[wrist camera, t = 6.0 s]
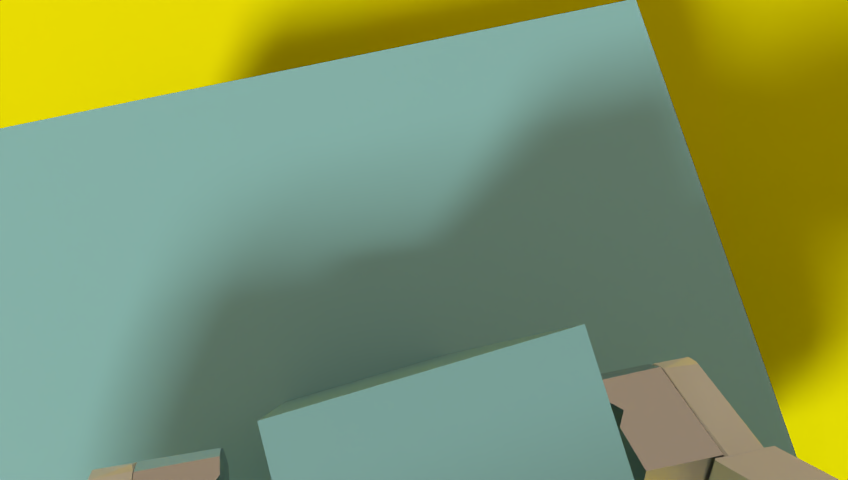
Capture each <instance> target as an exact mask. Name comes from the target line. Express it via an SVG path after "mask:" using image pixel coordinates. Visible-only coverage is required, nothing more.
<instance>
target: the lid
mask: <svg viewBox="0 0 848 480" xmlns="http://www.w3.org/2000/svg"><path fill="white" fill-rule="evenodd" d="M685 357H690V358H691V359H693V360H695V361H696V362H697V363H698V364H699V365H700V367H701V368H702V369H703V371H704V372H705V373H706V374H707V376H708V377H709V378H710V379H711V381H712V382H713V383H714V385H715V386H716V387H717V388H718V390H719V391H720V392H721V394H722V395H723V396H724V397H725V399H726V400H727V401H728V402H729V404H730V405H731V406H732V408H733V409H734V410H735V411H736V413H737V414H738V415H739V416H740V418H741V419H742V420H743V422H744V423H745V424H746V425H747V427H748V428H749V429H750V430H751V432H752V433H753V434H754V436H755V437H756V438H757V439H758V441H759V442H760V443H761V444H762V446H763V447H764V448H765V447H771V446H776V447H778V448H780V449H781V450H783V451H785V452H787V453H789V454H791V455H793V456H795V457H796V454H795V451H794V448H793V445H792V442H791V439H790V437H789V434H788V431H787V428H786V425H785V422H784V420H783V417H782V414H781V411H780V408H779V405H778V402H777V400H776V397H775V394H774V391H773V388H772V385H771V383H770V380H769V377H768V374H767V371H766V368H765V366H764V363H763V360H762V357H761V354H760V351H759V348H758V346H757V343H756V340H755V337H754V334H753V331H752V329H751V326H750V323H749V320H748V317H747V314H746V311H745V309H744V306H743V303H742V300H741V297H740V294H739V292H738V289H737V286H736V283H735V280H734V277H733V274H732V272H731V269H730V266H729V263H728V260H727V257H726V255H725V252H724V249H723V246H722V243H721V240H720V238H719V235H718V232H717V229H716V226H715V223H714V220H713V218H712V215H711V212H710V209H709V206H708V203H707V201H706V198H705V195H704V192H703V189H702V186H701V183H700V181H699V178H698V175H697V172H696V169H695V166H694V164H693V161H692V158H691V155H690V152H689V149H688V147H687V144H686V141H685V138H684V135H683V132H682V129H681V127H680V124H679V121H678V118H677V115H676V112H675V110H674V107H673V104H672V101H671V98H670V95H669V92H668V90H667V87H666V84H665V81H664V78H663V75H662V73H661V70H660V67H659V64H658V61H657V58H656V56H655V53H654V50H653V47H652V44H651V41H650V38H649V36H648V33H647V30H646V27H645V24H644V21H643V19H642V16H641V13H640V10H639V7H638V4H637V1H636V0H626V1H621V2H616V3H611V4H606V5H601V6H597V7H592V8H587V9H582V10H577V11H572V12H567V13H562V14H557V15H553V16H548V17H543V18H538V19H533V20H528V21H523V22H518V23H514V24H509V25H504V26H499V27H494V28H489V29H484V30H479V31H474V32H470V33H465V34H460V35H455V36H450V37H445V38H440V39H435V40H431V41H426V42H421V43H416V44H411V45H406V46H401V47H396V48H391V49H387V50H382V51H377V52H372V53H367V54H362V55H357V56H352V57H348V58H343V59H338V60H333V61H328V62H323V63H318V64H313V65H308V66H304V67H299V68H294V69H289V70H284V71H279V72H274V73H269V74H265V75H260V76H255V77H250V78H245V79H240V80H235V81H230V82H225V83H221V84H216V85H211V86H206V87H201V88H196V89H191V90H186V91H182V92H177V93H172V94H167V95H162V96H157V97H152V98H147V99H142V100H138V101H133V102H128V103H123V104H118V105H113V106H108V107H103V108H99V109H94V110H89V111H84V112H79V113H74V114H69V115H64V116H59V117H55V118H50V119H45V120H40V121H35V122H30V123H25V124H20V125H16V126H11V127H6V128H1V129H0V480H88V478H89V476H90V474H91V472H92V470H94V469H100V468H106V467H111V466H117V465H123V464H129V463H134V462H138V461H144V460H150V459H156V458H162V457H168V456H174V455H180V454H186V453H192V452H198V451H204V450H210V449H216V448H223V449H224V452H225V455H226V458H227V462H228V465H229V480H634V477H633V474H632V471H631V468H630V465H629V461H628V458H627V455H626V452H625V449H624V446H623V443H622V439H621V436H620V433H619V430H618V427H617V424H616V421H615V417H614V414H613V411H612V408H611V405H610V402H609V399H608V395H607V392H606V389H605V386H604V383H603V380H602V377H601V374H602V373H607V372H612V371H617V370H622V369H627V368H632V367H636V366H641V365H646V364H651V365H652V364H654V363H659V362H664V361H669V360H674V359H680V358H685Z"/></svg>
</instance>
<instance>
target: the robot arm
mask: <svg viewBox="0 0 848 480" xmlns="http://www.w3.org/2000/svg"><path fill="white" fill-rule="evenodd" d="M601 377H602V380H603V383H604V386H605V389H606V392H607V395H608V399H609V402H610V405H611V408H612V411H613V414H614V417H615V421H616V424H617V427H618V430H619V433H620V436H621V439H622V443H623V446H624V449H625V452H626V455H627V458H628V461H629V465H630V468H631V471H632V474H633V477H634V480H838V479H836V478H835V477H833V476H831V475H829V474H827V473H825V472H823V471H821V470H819V469H817V468H816V467H814V466H812V465H810V464H808V463H806V462H804V461H802V460H800V459H799V458H797V457H795V456H793V455H791V454H789V453H787V452H785V451H783V450H781V449H780V448H778V447H776V446H771V447H765V448H764V447H763V446H762V444H761V443H760V442H759V441H758V439H757V438H756V437H755V436H754V434H753V433H752V432H751V430H750V429H749V428H748V427H747V425H746V424H745V423H744V422H743V420H742V419H741V418H740V416H739V415H738V414H737V413H736V411H735V410H734V409H733V408H732V406H731V405H730V404H729V402H728V401H727V400H726V399H725V397H724V396H723V395H722V394H721V392H720V391H719V390H718V388H717V387H716V386H715V385H714V383H713V382H712V381H711V379H710V378H709V377H708V376H707V374H706V373H705V372H704V371H703V369H702V368H701V367H700V365H699V364H698V363H697V362H696V361H695V360H693V359H691V358H690V357H685V358H680V359H674V360H669V361H664V362H659V363H654V364H652V365H651V364H646V365H641V366H636V367H632V368H627V369H622V370H617V371H612V372H607V373H602V374H601ZM88 480H229V465H228V462H227V458H226V455H225V452H224V449H223V448H216V449H210V450H204V451H198V452H192V453H186V454H180V455H174V456H168V457H162V458H156V459H150V460H144V461H138V462H134V463H129V464H123V465H117V466H111V467H106V468H100V469H94V470H92V472H91V474H90V476H89V478H88Z"/></svg>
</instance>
